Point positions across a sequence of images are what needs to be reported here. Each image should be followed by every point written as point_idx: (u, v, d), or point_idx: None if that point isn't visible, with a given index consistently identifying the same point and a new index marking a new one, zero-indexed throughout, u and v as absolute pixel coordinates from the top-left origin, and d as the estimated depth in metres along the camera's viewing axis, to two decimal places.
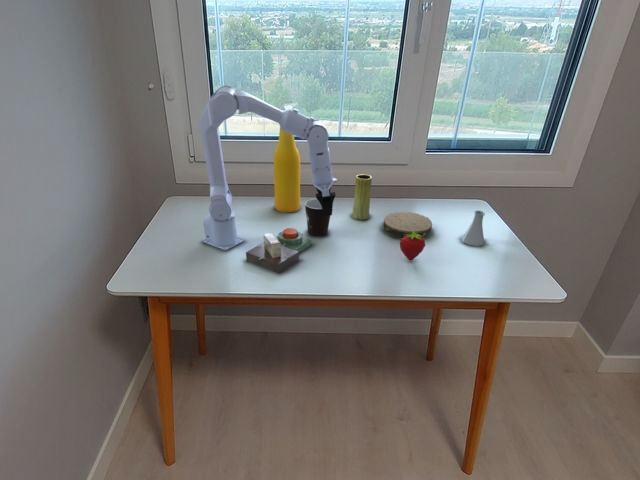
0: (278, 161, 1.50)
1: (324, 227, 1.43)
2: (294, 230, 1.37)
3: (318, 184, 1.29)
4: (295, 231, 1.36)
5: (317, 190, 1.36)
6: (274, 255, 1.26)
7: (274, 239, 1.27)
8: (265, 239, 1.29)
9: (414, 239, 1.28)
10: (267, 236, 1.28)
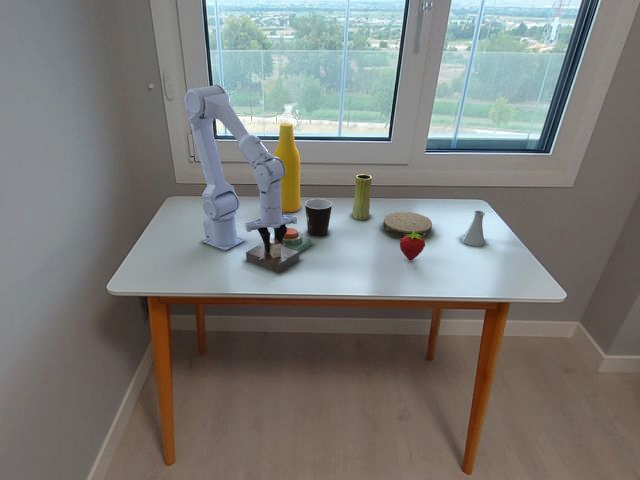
0: None
1: (324, 227, 1.43)
2: (294, 230, 1.37)
3: (260, 219, 1.24)
4: (295, 231, 1.36)
5: None
6: (274, 255, 1.26)
7: (274, 239, 1.27)
8: None
9: (414, 239, 1.28)
10: None
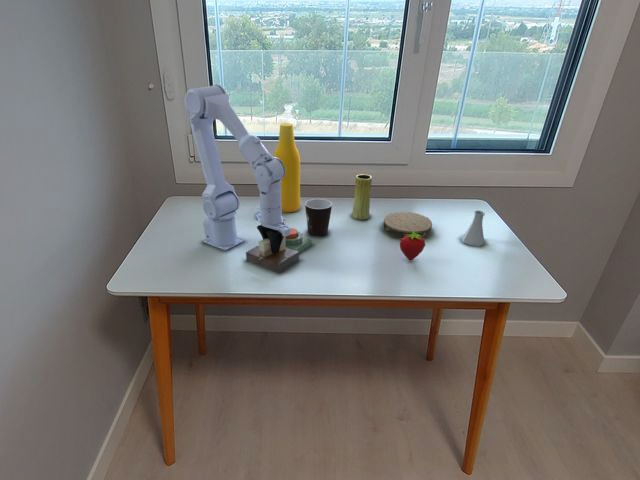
0: None
1: (324, 227, 1.43)
2: (294, 230, 1.37)
3: (272, 224, 1.21)
4: (295, 231, 1.36)
5: (263, 233, 1.26)
6: None
7: None
8: (268, 245, 1.25)
9: (414, 239, 1.28)
10: (267, 241, 1.25)
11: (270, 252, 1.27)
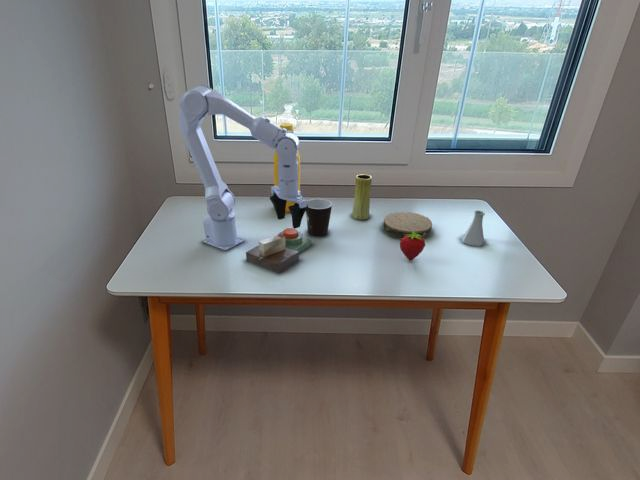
0: None
1: (324, 227, 1.43)
2: (294, 230, 1.37)
3: (289, 196, 1.26)
4: (295, 231, 1.36)
5: (275, 204, 1.32)
6: None
7: (272, 237, 1.27)
8: (268, 245, 1.25)
9: (414, 239, 1.28)
10: (267, 241, 1.25)
11: (270, 252, 1.27)
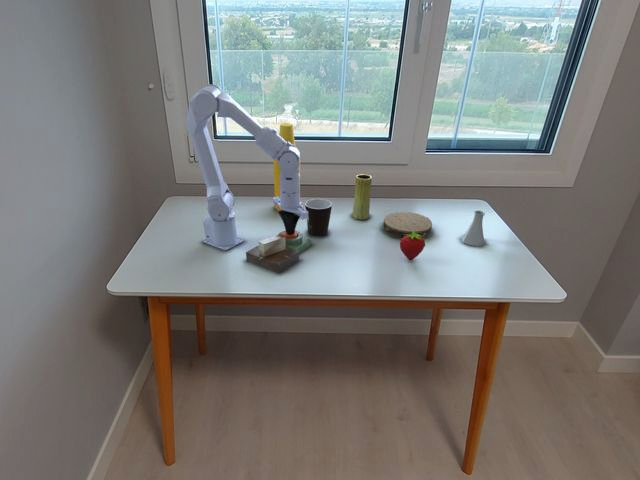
0: None
1: (324, 227, 1.43)
2: (294, 232, 1.37)
3: (290, 208, 1.29)
4: (295, 233, 1.37)
5: (284, 218, 1.33)
6: None
7: (272, 237, 1.27)
8: (268, 245, 1.25)
9: (414, 239, 1.28)
10: (267, 241, 1.25)
11: (270, 252, 1.27)
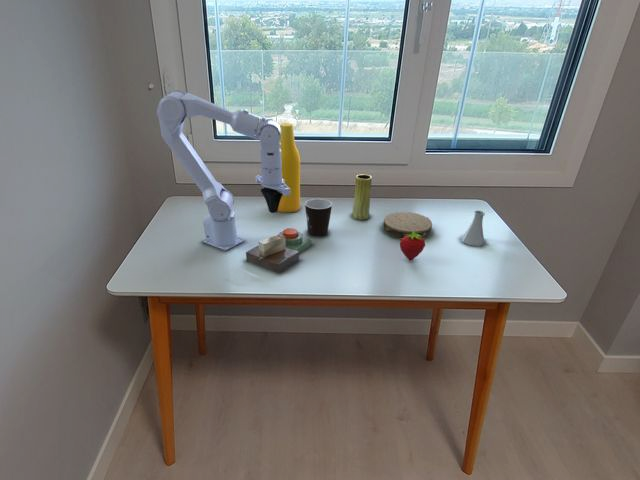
0: None
1: (324, 227, 1.43)
2: (294, 230, 1.37)
3: (272, 185, 1.27)
4: (295, 231, 1.36)
5: (266, 196, 1.30)
6: None
7: (272, 237, 1.27)
8: (268, 245, 1.25)
9: (414, 239, 1.28)
10: (267, 241, 1.25)
11: (270, 252, 1.27)
